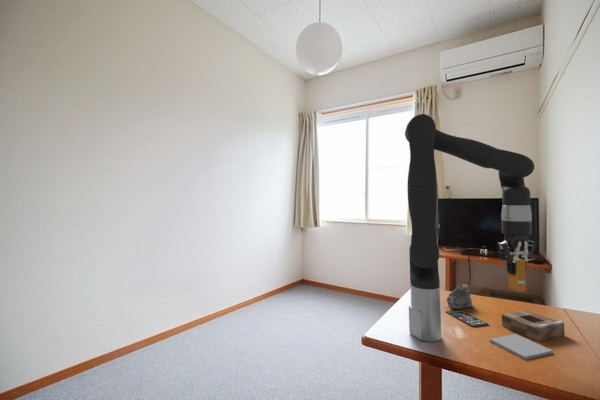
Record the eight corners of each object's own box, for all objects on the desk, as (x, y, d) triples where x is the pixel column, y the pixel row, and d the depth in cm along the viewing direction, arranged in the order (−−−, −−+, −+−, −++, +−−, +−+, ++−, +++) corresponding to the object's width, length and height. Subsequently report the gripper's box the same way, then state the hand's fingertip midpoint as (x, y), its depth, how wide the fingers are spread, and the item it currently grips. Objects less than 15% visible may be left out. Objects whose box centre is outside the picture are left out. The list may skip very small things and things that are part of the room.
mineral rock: (449, 311, 115) (448, 287, 115) (437, 302, 125) (436, 280, 125) (481, 311, 114) (480, 287, 114) (466, 302, 125) (465, 279, 125)
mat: (525, 359, 79) (524, 356, 79) (489, 341, 90) (489, 338, 90) (552, 353, 82) (552, 350, 82) (515, 336, 93) (515, 333, 93)
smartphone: (460, 309, 116) (490, 324, 101) (460, 311, 116) (490, 326, 101) (444, 311, 114) (472, 326, 100) (444, 312, 114) (472, 328, 100)
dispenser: (537, 341, 89) (537, 326, 89) (502, 325, 101) (501, 312, 101) (564, 335, 92) (564, 321, 92) (526, 320, 104) (526, 308, 104)
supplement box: (527, 291, 86) (526, 259, 86) (517, 292, 85) (516, 260, 85) (517, 287, 89) (516, 257, 89) (508, 288, 89) (506, 257, 89)
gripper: (511, 220, 82) (512, 278, 82) (545, 219, 86) (546, 274, 86) (487, 219, 89) (488, 272, 89) (520, 218, 93) (520, 269, 93)
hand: (516, 273), depth 87 cm, fingers closed on supplement box, 3 cm apart
